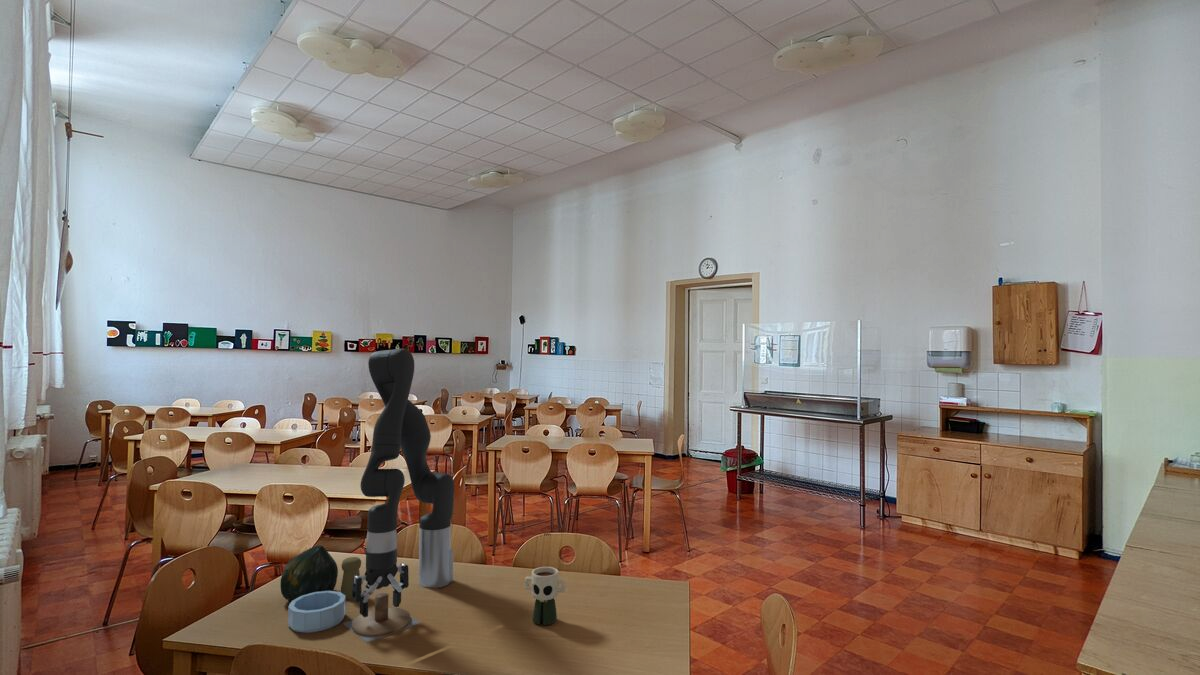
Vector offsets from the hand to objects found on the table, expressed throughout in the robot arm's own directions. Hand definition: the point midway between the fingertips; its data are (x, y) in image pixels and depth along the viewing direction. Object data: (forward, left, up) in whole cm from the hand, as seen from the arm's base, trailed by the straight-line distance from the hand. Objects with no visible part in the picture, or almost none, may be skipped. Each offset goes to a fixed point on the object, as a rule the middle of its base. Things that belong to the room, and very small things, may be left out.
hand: (380, 611), depth 152 cm
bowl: (+11, -13, -4) cm, 17 cm away
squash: (+6, -32, -4) cm, 33 cm away
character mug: (-31, +28, -4) cm, 42 cm away
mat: (0, 0, -4) cm, 4 cm away
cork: (-2, -23, -4) cm, 23 cm away
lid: (0, 0, -3) cm, 3 cm away
